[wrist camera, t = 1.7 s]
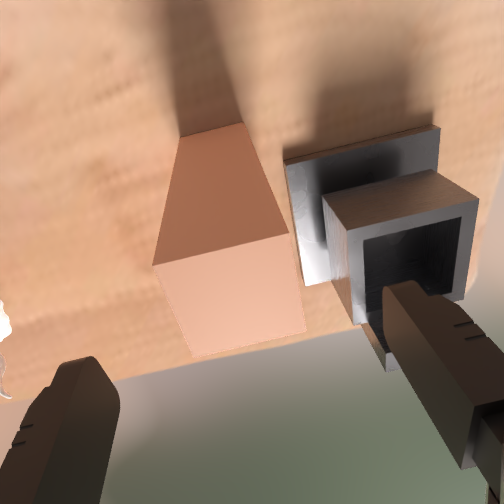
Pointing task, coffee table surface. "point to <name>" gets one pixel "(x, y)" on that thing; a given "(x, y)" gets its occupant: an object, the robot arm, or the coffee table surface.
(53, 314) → the coffee table surface
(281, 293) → the rail post
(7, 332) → the tentacle sculpture
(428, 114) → the coffee table surface
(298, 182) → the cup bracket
